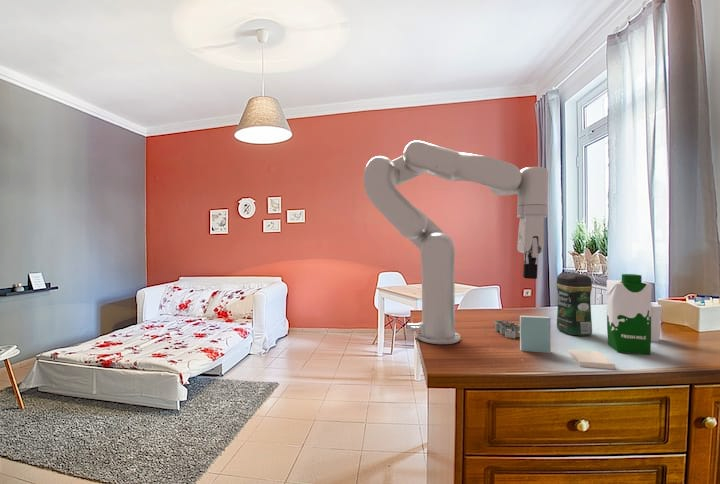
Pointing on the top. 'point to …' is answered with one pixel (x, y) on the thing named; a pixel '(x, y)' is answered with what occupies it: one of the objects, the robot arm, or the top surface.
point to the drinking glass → (655, 322)
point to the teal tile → (535, 334)
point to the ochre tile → (591, 359)
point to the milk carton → (629, 314)
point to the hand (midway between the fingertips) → (530, 278)
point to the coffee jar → (574, 304)
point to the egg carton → (507, 328)
